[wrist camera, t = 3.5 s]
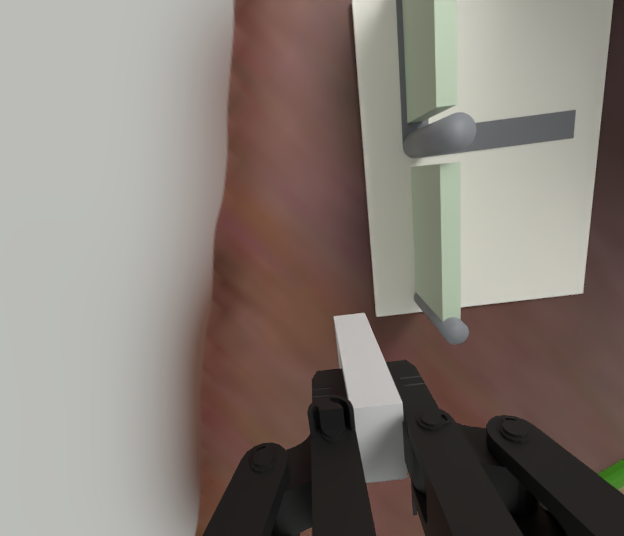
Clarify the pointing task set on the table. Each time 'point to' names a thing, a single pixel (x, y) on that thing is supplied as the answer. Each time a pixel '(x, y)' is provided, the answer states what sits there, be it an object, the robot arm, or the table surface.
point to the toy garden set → (615, 475)
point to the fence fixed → (433, 78)
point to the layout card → (491, 146)
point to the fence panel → (438, 247)
